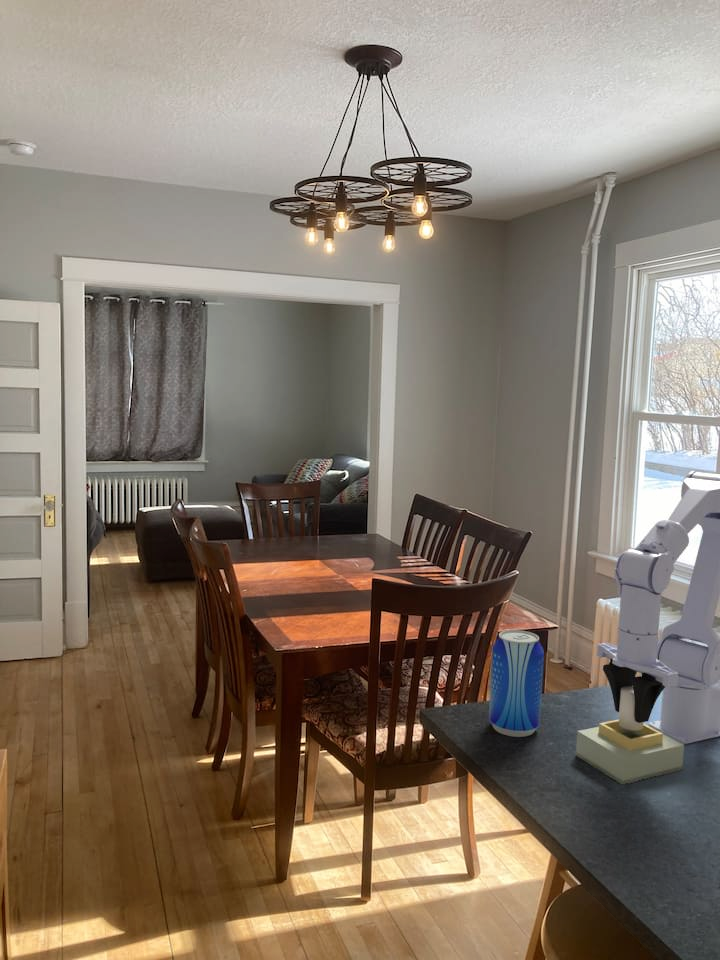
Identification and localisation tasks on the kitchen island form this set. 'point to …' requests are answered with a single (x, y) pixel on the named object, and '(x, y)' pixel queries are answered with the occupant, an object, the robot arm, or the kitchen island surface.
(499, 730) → the beer can
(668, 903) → the kitchen island surface
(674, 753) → the square stacking base
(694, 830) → the kitchen island surface
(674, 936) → the kitchen island surface
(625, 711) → the pellet
